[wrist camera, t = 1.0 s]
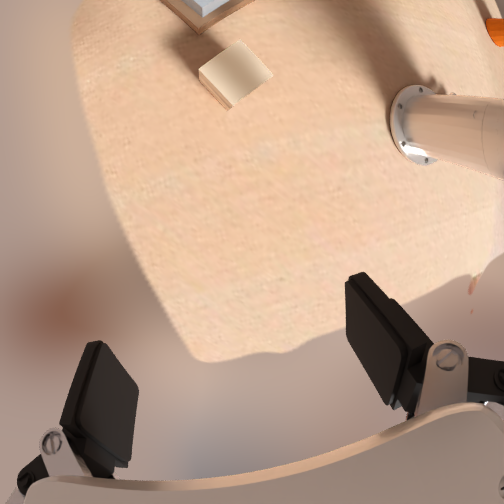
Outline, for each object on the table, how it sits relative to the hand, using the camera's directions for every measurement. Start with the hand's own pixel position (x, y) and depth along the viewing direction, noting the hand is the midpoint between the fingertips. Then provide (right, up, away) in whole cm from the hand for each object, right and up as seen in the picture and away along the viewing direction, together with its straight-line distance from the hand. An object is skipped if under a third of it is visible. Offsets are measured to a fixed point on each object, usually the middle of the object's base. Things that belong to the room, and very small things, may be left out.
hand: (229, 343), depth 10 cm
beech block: (-2, +23, +18) cm, 29 cm away
